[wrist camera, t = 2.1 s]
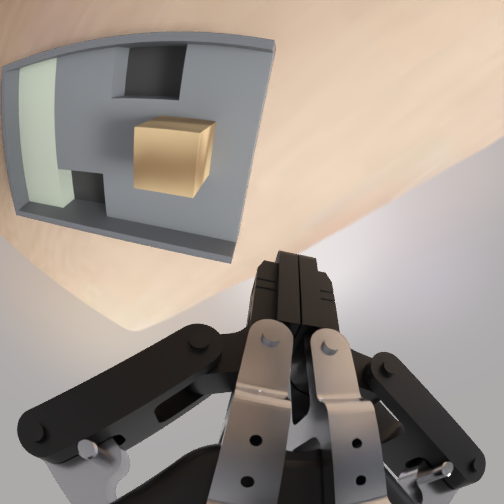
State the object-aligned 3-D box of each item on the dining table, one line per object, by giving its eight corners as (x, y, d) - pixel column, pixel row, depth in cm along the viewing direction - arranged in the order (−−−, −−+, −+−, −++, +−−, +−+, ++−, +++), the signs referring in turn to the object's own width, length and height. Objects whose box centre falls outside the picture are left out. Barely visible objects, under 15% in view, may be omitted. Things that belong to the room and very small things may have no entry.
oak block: (161, 115, 21) (134, 126, 17) (216, 121, 21) (199, 133, 17) (158, 166, 24) (133, 188, 20) (208, 174, 24) (193, 198, 20)
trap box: (33, 60, 18) (2, 67, 14) (275, 48, 19) (274, 40, 14) (40, 195, 30) (16, 214, 26) (238, 233, 31) (230, 263, 26)
